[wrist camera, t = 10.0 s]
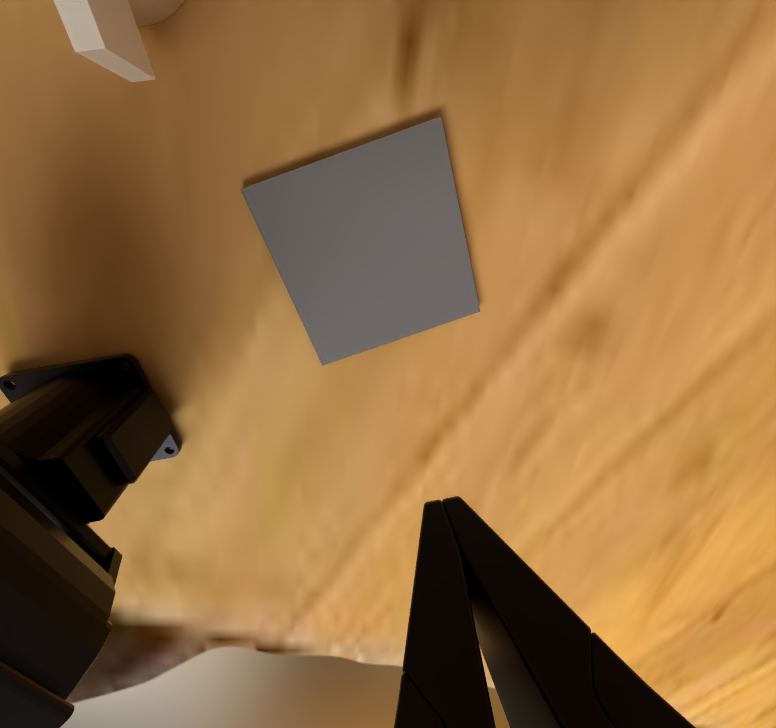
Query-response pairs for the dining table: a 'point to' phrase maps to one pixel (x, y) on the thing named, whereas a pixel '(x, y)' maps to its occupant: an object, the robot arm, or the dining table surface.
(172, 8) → the espresso cup
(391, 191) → the slate coaster
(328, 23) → the dining table surface
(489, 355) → the dining table surface
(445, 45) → the dining table surface
